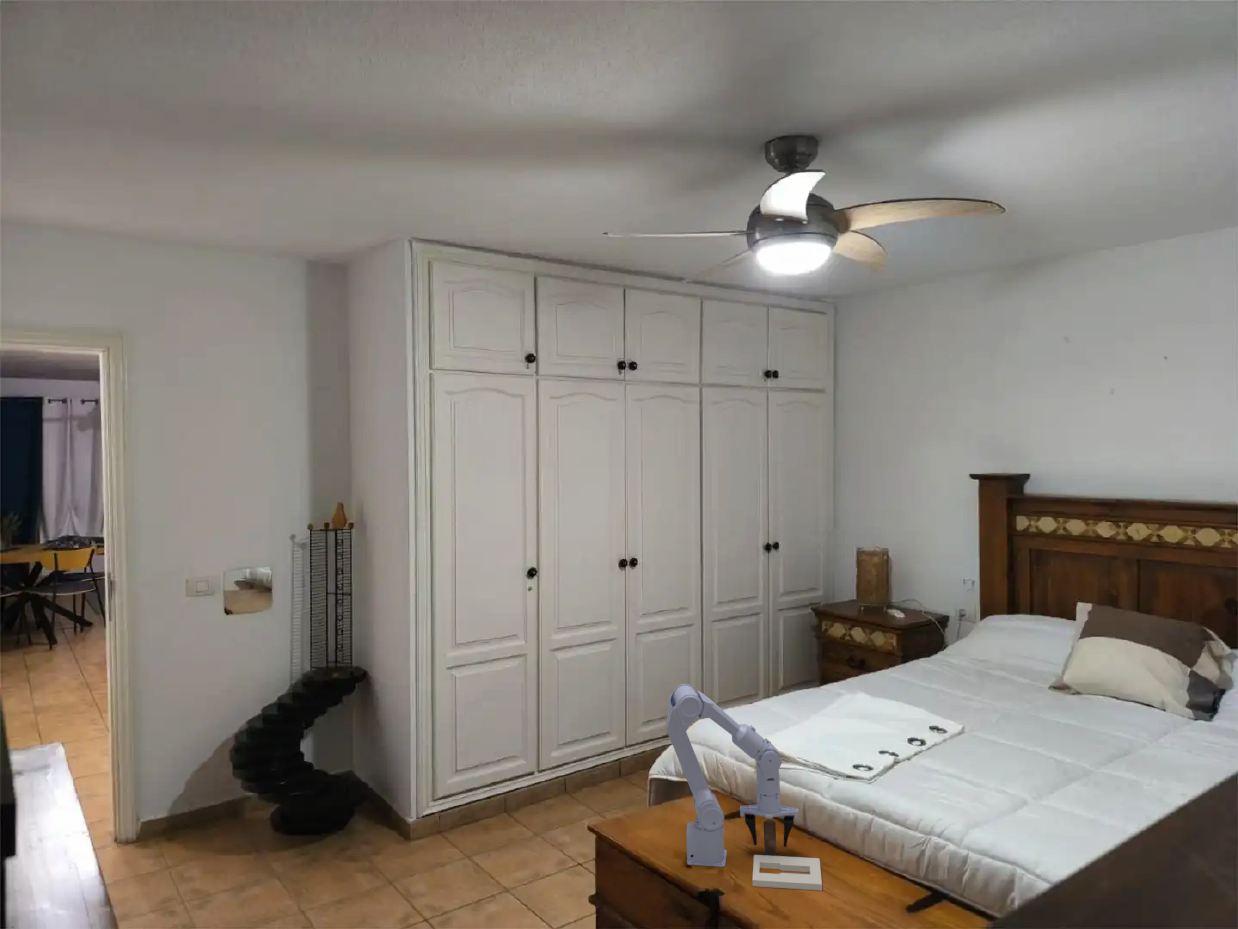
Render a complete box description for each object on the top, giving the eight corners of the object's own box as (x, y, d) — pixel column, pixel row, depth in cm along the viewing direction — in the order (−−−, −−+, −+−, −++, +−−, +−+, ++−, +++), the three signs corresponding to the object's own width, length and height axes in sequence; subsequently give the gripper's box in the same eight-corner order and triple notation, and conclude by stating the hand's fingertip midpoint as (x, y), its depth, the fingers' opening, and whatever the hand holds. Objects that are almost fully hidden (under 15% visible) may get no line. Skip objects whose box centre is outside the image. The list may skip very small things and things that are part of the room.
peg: (764, 856, 212) (763, 825, 211) (764, 850, 215) (763, 819, 214) (776, 857, 211) (775, 825, 211) (776, 851, 214) (775, 820, 214)
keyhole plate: (752, 886, 198) (752, 880, 198) (754, 860, 210) (753, 854, 210) (822, 890, 195) (821, 884, 195) (819, 864, 207) (819, 858, 207)
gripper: (738, 797, 210) (740, 850, 210) (797, 799, 207) (799, 853, 207) (740, 785, 217) (742, 837, 217) (797, 787, 214) (799, 840, 214)
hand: (770, 844), depth 213 cm, fingers open, 7 cm apart
